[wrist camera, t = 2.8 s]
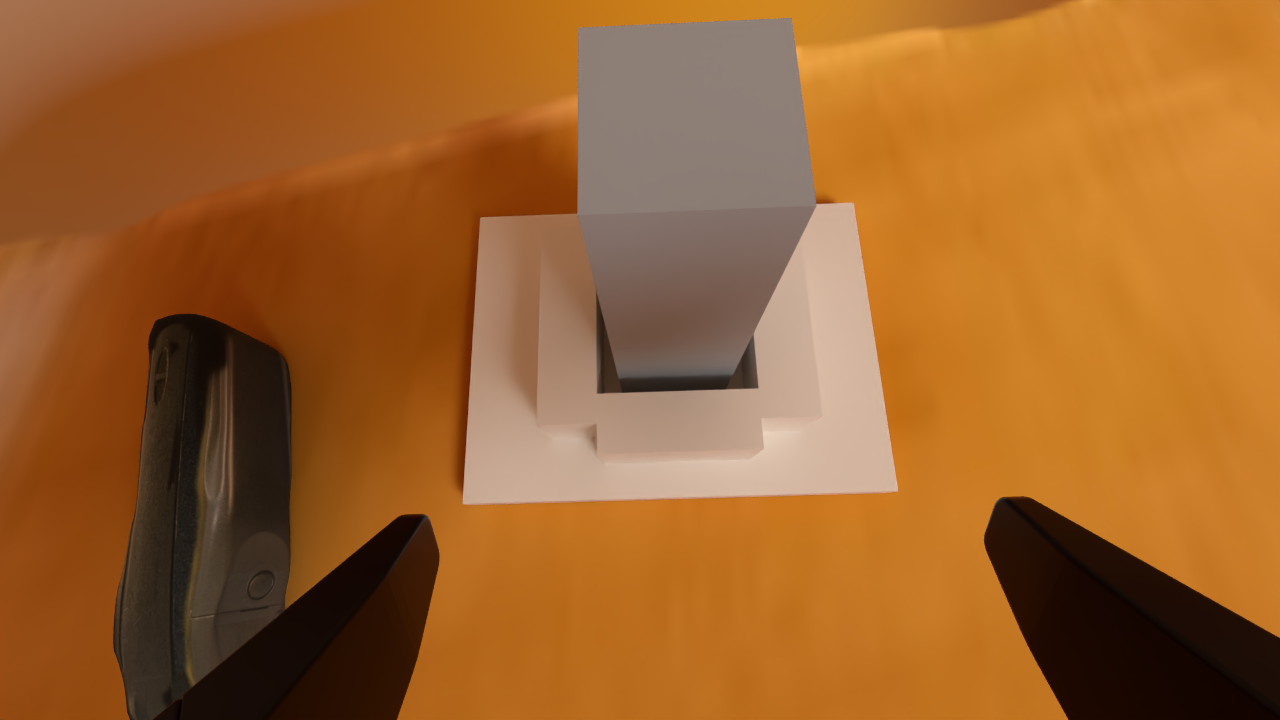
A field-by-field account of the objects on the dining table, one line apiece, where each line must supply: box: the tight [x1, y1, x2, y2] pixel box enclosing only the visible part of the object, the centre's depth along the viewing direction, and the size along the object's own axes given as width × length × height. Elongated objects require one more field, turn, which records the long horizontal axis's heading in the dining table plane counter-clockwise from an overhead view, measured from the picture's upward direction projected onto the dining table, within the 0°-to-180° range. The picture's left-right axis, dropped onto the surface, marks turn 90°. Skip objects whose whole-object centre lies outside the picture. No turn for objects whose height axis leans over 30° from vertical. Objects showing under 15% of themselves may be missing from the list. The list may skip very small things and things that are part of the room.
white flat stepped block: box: [463, 203, 898, 505], centre depth 22 cm, size 16×12×4 cm
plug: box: [577, 18, 817, 393], centre depth 16 cm, size 4×4×13 cm
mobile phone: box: [113, 314, 291, 720], centre depth 20 cm, size 5×3×15 cm
